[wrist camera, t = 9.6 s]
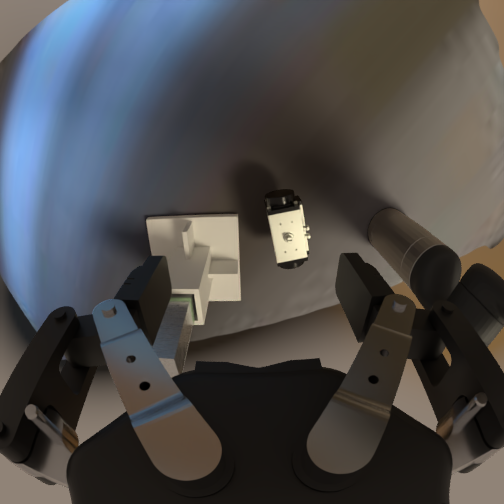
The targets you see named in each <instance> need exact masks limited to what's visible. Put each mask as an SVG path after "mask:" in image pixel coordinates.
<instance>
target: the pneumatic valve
mask: <svg viewBox="0 0 504 504" xmlns="http://www.w3.org/2000/svg"><path fill="white" fill-rule="evenodd" d="M264 201H265V206H266V211H267V216H268V221H269V226H270V230H271V235H272V240H273V245H274V250H275V255H276V260H277V265H278V266H280V267H281V268H284V269H293V268H297V267H299V266H301V265H302V264H303V263H304V261H308V257H307V254H309V249H308V241H307V237H308V239H310V233H308V234H306V229H307V230H309V225H306V226H305V220H304V213H303V207H302V201H301V199H300V198H299V196H295V195H294V191H293V190H290V189H282V190H276V191H272V192H270V193H267V194H266V195H265V200H264Z"/></svg>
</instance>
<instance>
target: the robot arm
mask: <svg viewBox="0 0 504 504" xmlns="http://www.w3.org/2000/svg"><path fill="white" fill-rule="evenodd" d="M368 238H369V241H370V243H371V244H372V245H373V247H374V248H375V249H376V250H377V251H378V252H379V253H380V254H381V256H382V257H383V258H384V259H385V260H386V261H387V262H388V263H389V265H390V266H391V267H392V268H393V269H394V270H395V271H396V273H397V274H398V275H399V276H400V277H401V278H402V280H403V281H404V282H405V283H406V284H407V286H409V288H410V289H411V290H412V292H413V293H414V294H415V295H416V297H417V299H418V300H419V302H420V303H421V304H422V306H423V307H424V308H425V309H417V308H416V306H415V304H414V302H413V301H412V300H411V299H409V298H408V297H406V296H403V295H399V294H395V293H394V292H393V290H392V289H391V288H390V286H389V285H388V284H387V282H386V281H385V280H384V279H383V277H382V276H381V275H380V273H379V272H378V271H377V269H376V268H375V267H373V266H372V265H370V264H368V263H365V262H364V261H363V260H362V258H361V257H360V256H359V254H358V253H342V254H341V255H340V259H339V265H338V271H337V277H336V285H335V288H336V294H337V297H338V299H339V301H340V303H341V305H342V308H343V310H344V312H345V314H346V316H347V318H348V320H349V323H350V325H351V327H352V330H353V332H354V334H355V336H356V339H357V341H358V343H359V342H363V344H362V346H361V348H360V350H359V352H358V354H357V356H356V358H355V360H354V362H353V364H352V365H351V368H350V369H349V371H348V373H347V374H345V373H343V372H341V371H338V370H334V369H331V368H326V367H322V366H321V362H320V359H319V358H317V359H305V360H290V361H286V362H282V363H278V364H274V365H270V366H266V367H261V368H255V367H249V366H244V365H239V364H233V363H229V362H201V361H196V366H195V370H193V371H188V372H185V373H181V374H179V375H176V376H174V377H172V378H171V377H170V375H169V374H168V372H167V371H166V369H165V368H164V366H163V364H162V363H161V361H160V360H159V358H158V357H157V355H156V353H155V352H154V350H153V348H152V347H151V346H153V345H154V342H155V339H156V336H157V333H158V331H159V328H160V325H161V322H162V320H163V317H164V314H165V312H166V309H167V306H168V304H169V301H170V299H171V294H172V286H171V280H170V274H169V269H168V263H167V258H166V256H149V257H148V258H147V260H146V261H145V263H144V264H143V266H139V267H137V268H136V269H134V270H133V271H132V272H131V273H130V275H129V276H128V277H127V279H126V280H125V282H124V285H122V286H121V288H120V289H119V291H118V293H117V294H116V296H115V297H114V299H110V300H106V301H104V302H102V303H100V304H98V305H97V306H96V307H95V308H94V310H93V314H91V315H85V316H78V317H77V314H76V312H75V310H74V309H73V308H72V307H69V306H65V307H60V308H58V309H56V310H54V311H53V312H51V313H50V314H49V316H48V317H47V319H46V320H45V321H44V323H43V324H42V326H41V327H40V329H39V330H38V332H37V333H36V335H35V336H34V338H33V339H32V341H31V342H30V344H29V346H28V347H27V349H26V351H25V352H24V354H23V355H22V357H21V359H20V360H19V362H18V364H17V365H16V367H15V369H14V371H13V372H12V374H11V376H10V378H9V380H8V382H7V383H6V385H5V387H4V389H3V391H2V393H1V395H0V453H1V454H3V455H4V456H5V457H6V458H7V459H8V460H9V461H10V462H12V463H13V464H15V465H16V466H17V467H19V468H20V469H22V470H23V471H25V472H26V473H28V474H29V475H31V476H33V477H35V478H37V479H38V480H40V481H42V482H43V483H45V484H48V485H55V484H59V485H62V486H64V487H67V488H69V491H70V495H71V500H72V504H449V487H450V479H451V475H452V474H454V473H456V472H460V473H468V472H470V471H472V470H473V469H475V468H476V467H478V466H479V465H480V464H482V463H483V462H485V461H486V460H487V459H489V458H490V457H491V456H493V455H494V454H495V453H496V452H498V451H499V450H500V449H501V448H503V447H504V373H503V371H502V369H501V368H500V366H499V365H498V363H497V361H496V360H495V359H494V357H493V355H492V354H491V352H490V351H489V349H488V348H487V347H488V345H489V344H490V343H491V342H492V341H493V340H494V338H495V337H496V336H497V334H498V333H499V332H500V331H501V329H502V328H503V327H504V280H503V279H502V278H501V277H500V276H499V275H498V274H497V273H495V272H494V271H493V270H491V269H490V268H488V267H487V266H485V265H483V264H479V263H476V264H473V265H472V266H471V267H470V268H469V269H468V270H467V272H466V273H465V274H464V276H463V277H462V279H461V280H460V277H461V261H460V259H459V257H458V255H457V254H456V253H455V252H454V251H453V250H452V249H450V248H449V247H448V246H446V245H445V244H444V243H443V242H441V241H440V240H439V239H437V238H436V237H435V236H433V235H432V234H431V233H430V232H429V231H427V230H426V229H425V228H423V227H422V226H420V225H419V224H418V223H416V222H415V221H413V220H412V219H410V218H409V217H408V216H406V215H404V214H403V213H401V212H400V211H398V210H396V209H393V208H387V209H384V210H381V211H380V212H378V213H377V214H376V215H375V216H374V217H373V219H372V220H371V222H370V225H369V228H368ZM459 280H460V281H461V282H459ZM445 347H446V348H447V349H448V351H449V352H450V354H451V359H452V361H451V366H449V364H448V363H447V361H446V359H445V357H444V356H443V354H442V352H443V350H444V349H445ZM63 355H65V357H66V359H67V360H66V363H65V365H64V367H63V369H62V371H61V373H60V371H59V364H60V361H61V359H62V357H63ZM407 359H411V360H412V362H413V364H414V366H415V368H416V370H417V373H418V375H419V377H420V379H421V381H422V384H423V386H424V388H425V391H426V393H427V396H428V398H429V400H430V403H431V405H432V408H433V410H434V413H435V415H436V418H437V421H438V424H437V426H436V432H434V431H433V430H431V429H430V428H428V427H426V426H425V425H423V424H422V423H420V422H418V421H417V420H415V419H414V418H412V417H411V416H409V415H407V414H406V413H404V412H403V411H401V410H400V409H398V408H397V407H395V406H394V405H392V404H393V401H394V399H395V396H396V392H397V390H398V387H399V384H400V380H401V377H402V374H403V371H404V367H405V364H406V360H407ZM100 365H108V368H109V371H110V373H111V376H112V378H113V381H114V383H115V386H116V388H117V391H118V393H119V395H120V397H121V399H122V402H123V404H124V406H125V409H126V412H125V413H123V414H122V415H121V416H119V417H118V418H117V419H115V420H114V421H113V422H111V423H110V424H109V425H107V426H106V427H104V428H103V429H102V430H100V431H99V432H97V433H96V434H95V435H93V436H92V437H90V438H89V439H87V440H86V441H85V442H83V443H82V444H80V445H79V440H78V436H77V434H76V432H75V430H76V427H77V423H78V420H79V417H80V414H81V411H82V408H83V405H84V402H85V400H86V397H87V393H88V391H89V388H90V385H91V383H92V380H93V378H94V375H95V373H96V370H97V367H98V366H100ZM78 445H79V446H78Z"/></svg>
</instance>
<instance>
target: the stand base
mask: <svg viewBox="0 0 504 504" xmlns="http://www.w3.org/2000/svg"><path fill="white" fill-rule="evenodd" d="M146 223H147V230H148V236H149V242H150V248H151V253H152V256H166V258H167V263H168V269H169V274H170V280H171V286H172V294H194V298H195V304H196V314H195V322H194V324H193V325H204V322H205V316H206V311H207V306H208V301H241V289H240V261H239V229H238V214H209V215H181V216H159V217H148V218H147V219H146Z"/></svg>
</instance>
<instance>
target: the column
mask: <svg viewBox="0 0 504 504" xmlns="http://www.w3.org/2000/svg"><path fill="white" fill-rule="evenodd" d="M195 314H196V304H195V298H194V294H171V299H170V301H169V304H168V306H167V309H166V312H165V314H164V317H163V320H162V322H161V325H160V328H159V331H158V333H157V336H156V339H155V342H154V345H153V346H151V347H152V348H153V350H154V352H155V353H156V355H157V357H158V358H159V360H160V361H161V363H162V364H163V366H164V368H165V369H166V371H167V372H168V374H169V375H170V377H171V378H172V377H174V376H176V375H179V374H181V373H182V372H183V368H184V363H185V358H186V354H187V349H188V345H189V340H190V336H191V331H192V327H193V324H194V322H195Z"/></svg>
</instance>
